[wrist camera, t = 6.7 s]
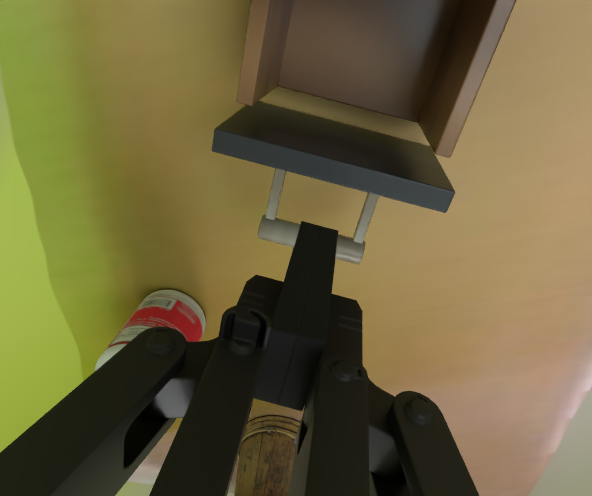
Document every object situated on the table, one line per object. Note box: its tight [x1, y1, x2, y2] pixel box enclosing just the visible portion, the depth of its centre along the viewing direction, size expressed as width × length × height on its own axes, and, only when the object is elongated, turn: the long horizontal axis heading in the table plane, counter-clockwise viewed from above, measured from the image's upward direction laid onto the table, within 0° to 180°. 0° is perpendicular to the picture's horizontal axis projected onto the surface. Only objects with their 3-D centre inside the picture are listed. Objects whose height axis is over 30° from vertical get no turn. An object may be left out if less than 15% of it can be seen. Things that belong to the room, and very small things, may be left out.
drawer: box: [212, 0, 516, 264], centre depth 23 cm, size 20×12×8 cm, turn 167°
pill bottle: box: [95, 290, 206, 371], centre depth 34 cm, size 6×6×11 cm
